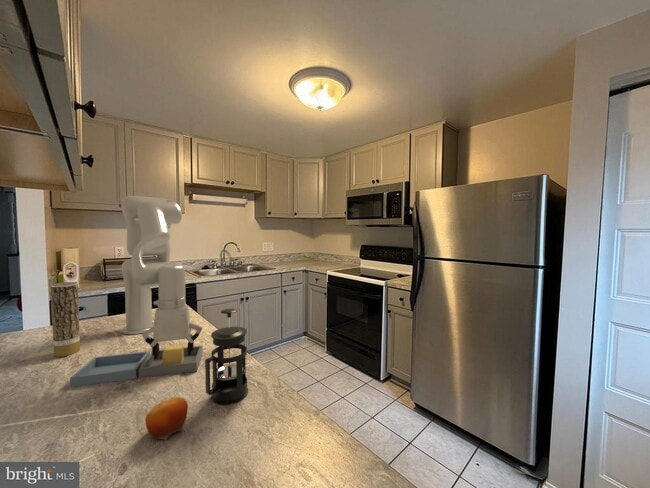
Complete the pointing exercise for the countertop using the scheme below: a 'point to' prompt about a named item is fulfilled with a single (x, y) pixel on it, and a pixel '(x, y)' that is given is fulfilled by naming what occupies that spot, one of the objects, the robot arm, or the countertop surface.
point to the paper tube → (65, 318)
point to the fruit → (167, 417)
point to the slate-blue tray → (110, 369)
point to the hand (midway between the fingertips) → (173, 355)
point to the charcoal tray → (157, 368)
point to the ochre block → (173, 355)
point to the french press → (227, 365)
